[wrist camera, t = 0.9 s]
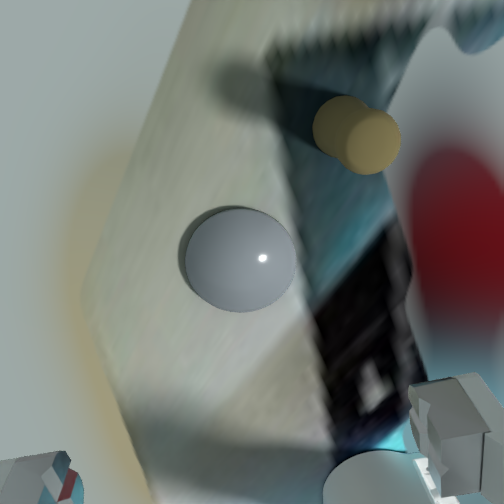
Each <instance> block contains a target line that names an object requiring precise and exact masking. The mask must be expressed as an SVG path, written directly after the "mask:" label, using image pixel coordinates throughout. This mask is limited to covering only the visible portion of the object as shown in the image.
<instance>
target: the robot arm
mask: <svg viewBox="0 0 504 504" xmlns="http://www.w3.org/2000/svg"><path fill="white" fill-rule="evenodd" d="M408 395H409V399H410V401H411V403H412V406H413V407H412V408H411V410H410V411H409V416H410V424H411V429H412V433H413V436H414V439H415V442H416V444H417V447H418V449H419V451H420V452H416V453H409V454H407V453H399V452H394V451H371V452H366V453H362V454H359V455H356V456H354V457H351V458H349V459H348V460H346V461H344V462H343V463H341V464H340V465H339V466H337V467H336V468H335V469H334V470H333V471H332V472H331V474H330V475H329V476H328V478H327V480H326V482H325V484H324V488H323V504H460V503H459V501H458V499H457V498H456V496H457V495H464V494H470V493H477V492H481V495H483V496H484V497H485V498H486V499H488V500H489V501H490V502H491V503H493V504H504V408H503V407H502V405H501V404H500V403H499V401H498V400H497V399H496V397H495V396H494V394H493V393H492V392H491V391H490V389H489V388H488V386H487V385H486V384H485V382H484V381H483V379H482V378H481V377H480V375H478V374H477V373H475V372H473V373H468V374H463V375H458V376H453V377H447V378H442V379H437V380H432V381H427V382H422V383H417V384H412V385H409V389H408ZM70 462H71V459H70V458H69V456H68V455H67V453H66V451H56V452H49V453H43V454H37V455H31V456H24V457H20V458H14V459H8V460H2V461H0V504H83V503H84V488H83V484H82V480H81V478H80V476H79V474H78V473H77V472H75V471H74V470H72V469H70V468H69V465H70Z"/></svg>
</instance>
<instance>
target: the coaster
mask: <svg viewBox="0 0 504 504" xmlns="http://www.w3.org/2000/svg"><path fill="white" fill-rule="evenodd" d="M185 267H186V273H187V276H188V279H189V281H190V283H191V285H192V287H193V288H194V290H195V291H196V292H197V294H198V295H199V296H200V297H201V298H203V299H204V300H205V301H206V302H208V303H209V304H211V305H213V306H215V307H217V308H219V309H222V310H226V311H230V312H251V311H255V310H259V309H262V308H264V307H266V306H268V305H270V304H272V303H273V302H275V301H276V300H277V299H279V298H280V297H281V296H282V295H283V294H284V293H285V291H286V290H287V289H288V287H289V286H290V284H291V282H292V280H293V277H294V274H295V269H296V252H295V248H294V245H293V242H292V240H291V237H290V236H289V234H288V232H287V231H286V229H285V228H284V227H283V226H282V225H281V224H280V223H279V222H278V221H277V220H275V219H274V218H273V217H271V216H269V215H268V214H266V213H263V212H261V211H258V210H254V209H247V208H234V209H228V210H224V211H221V212H219V213H216V214H214V215H212V216H211V217H209V218H208V219H206V220H205V221H204V222H203V223H202V224H201V225H200V226H198V228H197V229H196V230H195V232H194V233H193V235H192V237H191V238H190V241H189V243H188V247H187V251H186V257H185Z"/></svg>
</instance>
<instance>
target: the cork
mask: <svg viewBox="0 0 504 504" xmlns="http://www.w3.org/2000/svg"><path fill="white" fill-rule="evenodd" d="M312 127H313V137H314V140H315V142H316V144H317V146H318V147H319V148H320V149H321V150H322V152H324V153H326V154H327V155H329V156H331V157H335V158H338V159H339V160H340V162H341V163H342V164H343V165H344V166H345V167H346V168H347V169H349V170H350V171H352V172H354V173H358V174H363V175H366V174H374V173H377V172H380V171H382V170H384V169H385V168H386V167H388V166H389V165H390V164H391V163H392V162H393V161H394V159H395V158H396V156H397V155H398V152H399V148H400V145H401V134H400V131H399V128H398V125H397V123H396V122H395V120H394V119H393V118H392V117H391V116H390V115H389V114H387V113H385V112H384V111H382V110H377V109H373V108H368V106H367V105H366V104H365V103H364V102H362V101H361V100H359V99H358V98H356V97H352V96H347V95H345V96H337V97H335V98H332V99H330V100H328V101H327V102H326V103H325V104H324V105H322V106H321V107H320V109H319V110H318V112H317V114H316V115H315V118H314V122H313V126H312Z"/></svg>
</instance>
